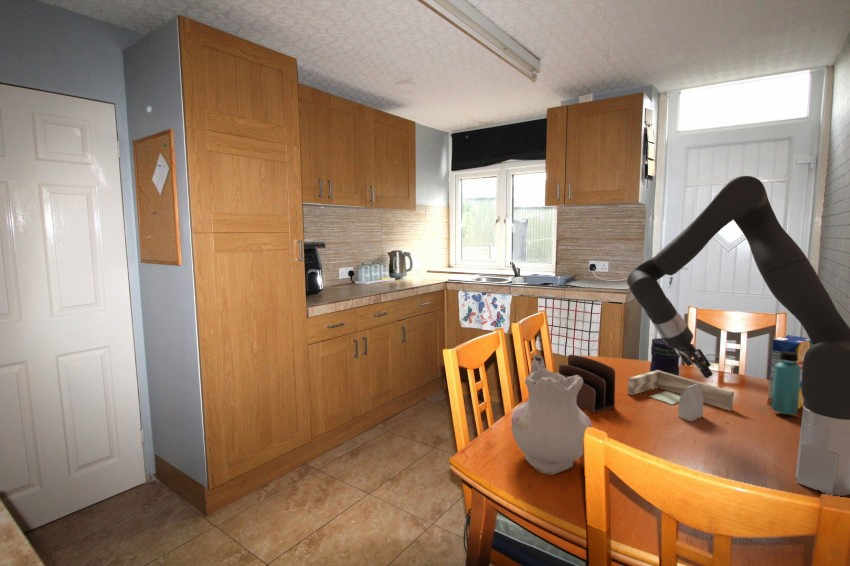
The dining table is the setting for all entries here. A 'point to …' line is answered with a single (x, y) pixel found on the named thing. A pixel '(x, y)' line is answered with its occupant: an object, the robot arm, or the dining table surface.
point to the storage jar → (664, 358)
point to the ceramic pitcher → (550, 420)
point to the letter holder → (592, 383)
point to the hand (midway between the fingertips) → (699, 370)
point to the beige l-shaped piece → (678, 389)
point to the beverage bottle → (786, 384)
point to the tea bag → (691, 403)
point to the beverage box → (790, 345)
